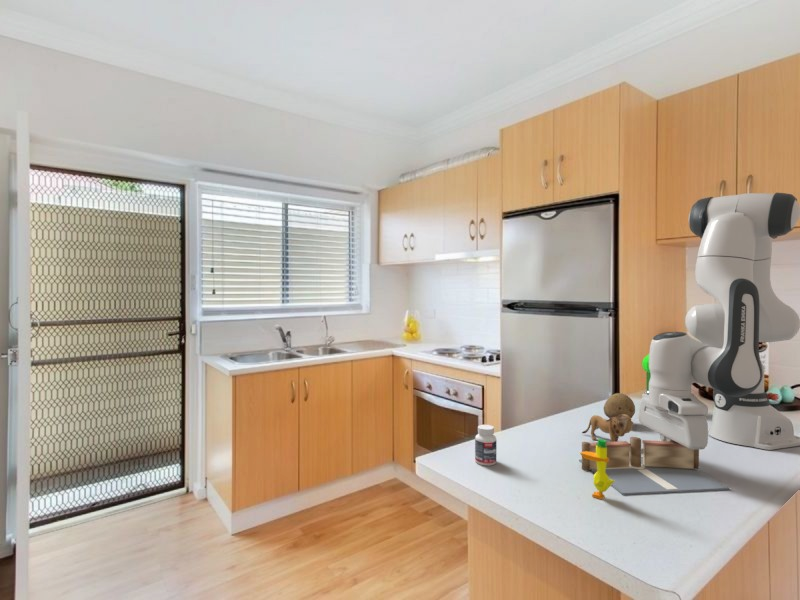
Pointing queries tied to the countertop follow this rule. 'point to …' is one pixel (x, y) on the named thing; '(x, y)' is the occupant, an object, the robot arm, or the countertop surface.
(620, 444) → the fence section
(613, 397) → the natural sponge
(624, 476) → the board
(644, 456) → the fence panel
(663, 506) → the countertop surface
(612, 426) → the lion figurine
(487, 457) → the pill bottle
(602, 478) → the toy figure
